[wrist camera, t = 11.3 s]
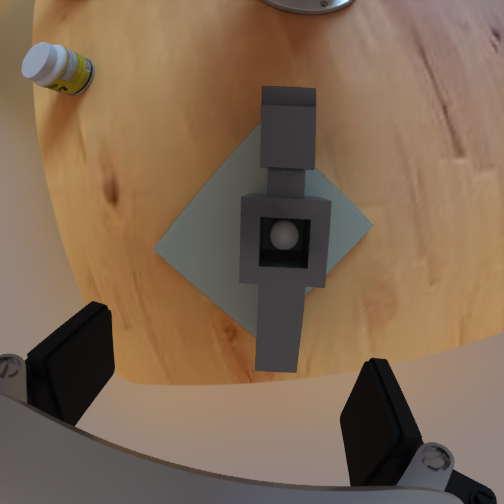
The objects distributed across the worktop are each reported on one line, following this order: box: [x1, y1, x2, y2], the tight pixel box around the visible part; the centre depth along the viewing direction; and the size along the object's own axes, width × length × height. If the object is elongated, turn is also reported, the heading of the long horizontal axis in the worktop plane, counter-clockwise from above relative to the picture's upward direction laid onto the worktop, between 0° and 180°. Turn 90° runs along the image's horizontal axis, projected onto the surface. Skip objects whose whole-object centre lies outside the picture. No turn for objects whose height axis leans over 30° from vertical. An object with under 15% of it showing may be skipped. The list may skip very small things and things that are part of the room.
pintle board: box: [153, 86, 374, 338], centre depth 26 cm, size 20×15×6 cm
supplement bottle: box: [22, 42, 94, 95], centre depth 23 cm, size 5×5×8 cm
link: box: [239, 168, 332, 373], centre depth 25 cm, size 18×6×6 cm, turn 178°
